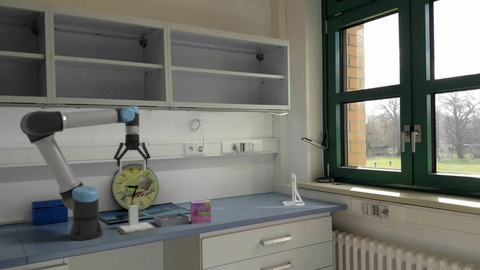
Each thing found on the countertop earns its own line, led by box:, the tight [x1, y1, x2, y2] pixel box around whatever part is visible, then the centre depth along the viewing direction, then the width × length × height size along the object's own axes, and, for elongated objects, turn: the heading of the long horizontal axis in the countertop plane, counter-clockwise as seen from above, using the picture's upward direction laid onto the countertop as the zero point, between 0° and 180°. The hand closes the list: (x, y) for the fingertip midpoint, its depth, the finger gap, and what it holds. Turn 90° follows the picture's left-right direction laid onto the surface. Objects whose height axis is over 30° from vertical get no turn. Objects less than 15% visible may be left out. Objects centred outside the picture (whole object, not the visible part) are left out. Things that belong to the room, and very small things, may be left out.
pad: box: [115, 223, 158, 235], centre depth 195 cm, size 17×14×1 cm
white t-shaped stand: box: [118, 204, 155, 233], centre depth 195 cm, size 15×12×11 cm
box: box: [190, 199, 212, 225], centre depth 205 cm, size 10×6×12 cm, turn 105°
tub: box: [153, 212, 190, 228], centre depth 205 cm, size 15×12×4 cm
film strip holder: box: [282, 172, 306, 207], centre depth 254 cm, size 14×14×20 cm
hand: (132, 171), depth 212 cm, fingers open, 13 cm apart
